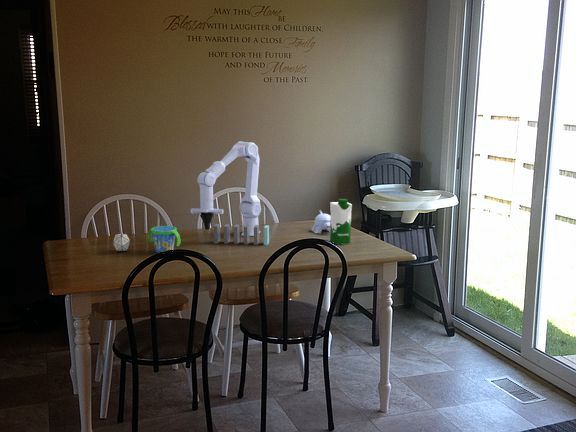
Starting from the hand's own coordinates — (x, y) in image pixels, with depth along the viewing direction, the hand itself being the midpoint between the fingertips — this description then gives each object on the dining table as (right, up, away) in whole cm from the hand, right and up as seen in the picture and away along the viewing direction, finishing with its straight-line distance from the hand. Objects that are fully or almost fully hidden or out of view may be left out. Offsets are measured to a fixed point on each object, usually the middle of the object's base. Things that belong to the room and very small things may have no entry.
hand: (207, 229), depth 281 cm
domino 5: (+22, -6, -2) cm, 23 cm away
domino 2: (+9, -6, 0) cm, 11 cm away
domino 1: (+4, -6, +1) cm, 7 cm away
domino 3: (+13, -6, -1) cm, 15 cm away
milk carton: (+60, -6, +2) cm, 60 cm away
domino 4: (+18, -6, -1) cm, 19 cm away
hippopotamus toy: (+54, -2, +23) cm, 59 cm away
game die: (-34, -9, -17) cm, 39 cm away
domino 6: (+27, -7, -2) cm, 28 cm away
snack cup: (-16, -9, -17) cm, 25 cm away
